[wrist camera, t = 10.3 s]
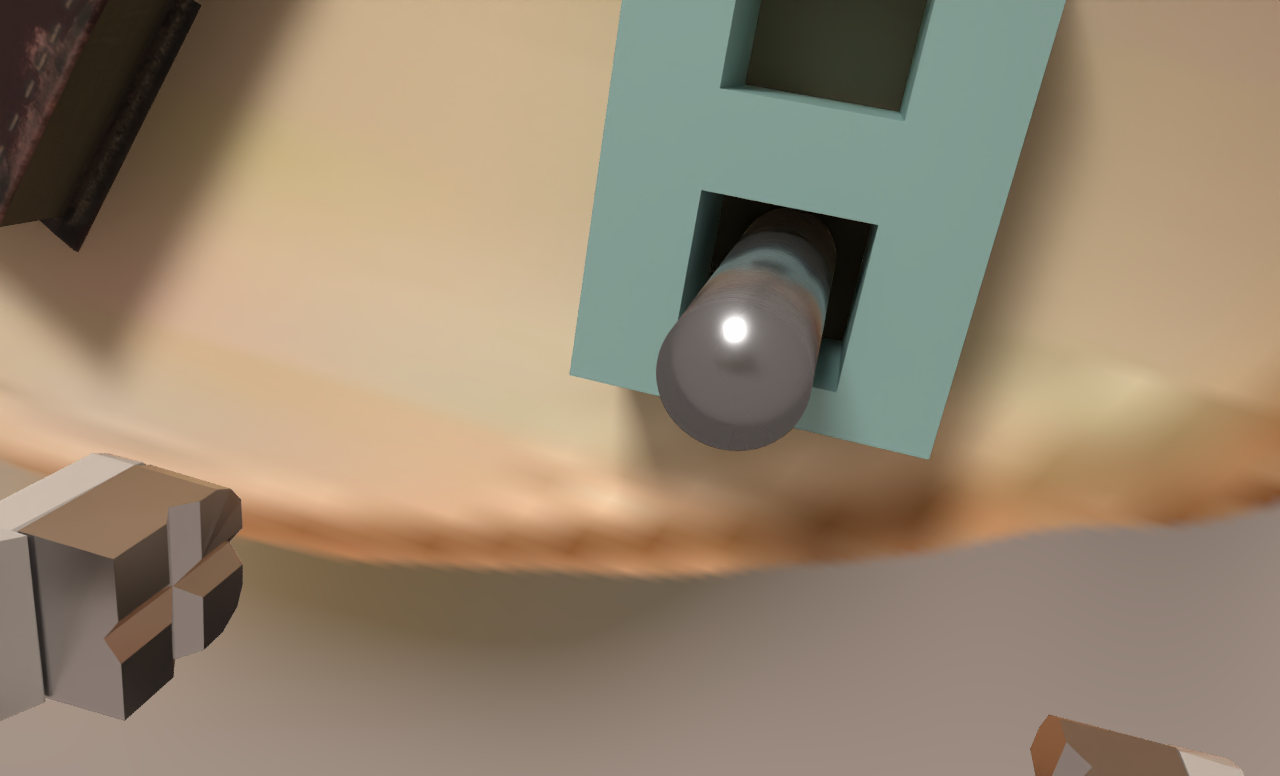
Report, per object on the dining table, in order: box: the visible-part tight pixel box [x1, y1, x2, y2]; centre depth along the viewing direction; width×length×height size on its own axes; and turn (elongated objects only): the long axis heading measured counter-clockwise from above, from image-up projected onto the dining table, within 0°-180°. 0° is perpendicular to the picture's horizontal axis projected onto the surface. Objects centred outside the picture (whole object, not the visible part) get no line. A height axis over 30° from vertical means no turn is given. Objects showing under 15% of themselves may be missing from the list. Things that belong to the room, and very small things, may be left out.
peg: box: [656, 208, 836, 451], centre depth 23 cm, size 3×3×12 cm
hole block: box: [570, 0, 1066, 460], centre depth 25 cm, size 14×10×5 cm
